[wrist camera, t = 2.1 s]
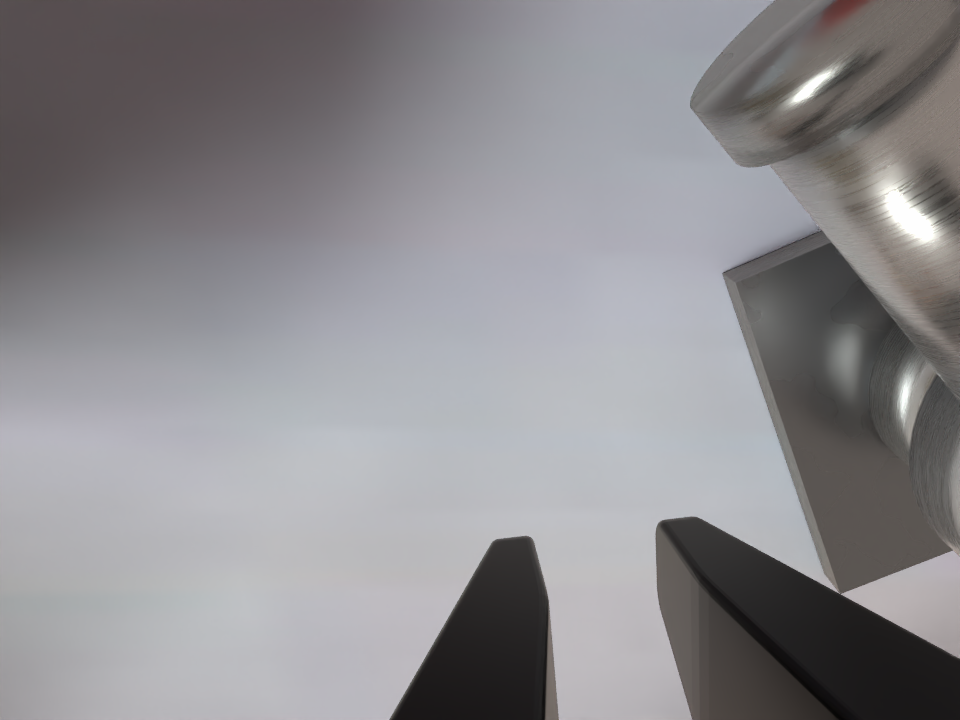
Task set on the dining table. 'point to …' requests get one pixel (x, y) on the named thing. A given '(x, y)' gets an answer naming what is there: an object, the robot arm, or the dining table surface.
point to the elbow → (867, 174)
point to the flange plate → (838, 406)
